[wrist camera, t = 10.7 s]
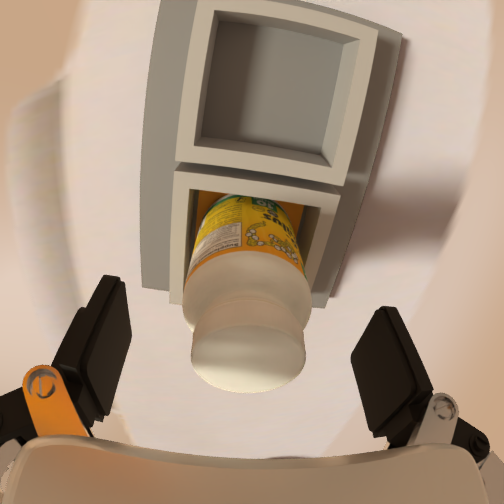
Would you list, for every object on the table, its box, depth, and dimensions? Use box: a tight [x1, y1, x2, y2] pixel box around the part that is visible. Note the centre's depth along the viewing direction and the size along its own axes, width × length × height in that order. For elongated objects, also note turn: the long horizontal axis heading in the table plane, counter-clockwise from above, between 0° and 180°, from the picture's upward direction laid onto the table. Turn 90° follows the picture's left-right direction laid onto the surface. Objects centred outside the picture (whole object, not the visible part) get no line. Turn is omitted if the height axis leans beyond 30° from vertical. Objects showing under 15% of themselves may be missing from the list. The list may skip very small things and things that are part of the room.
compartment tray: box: [140, 0, 402, 308], centre depth 15 cm, size 19×13×4 cm
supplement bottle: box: [182, 194, 312, 393], centre depth 14 cm, size 5×5×10 cm
